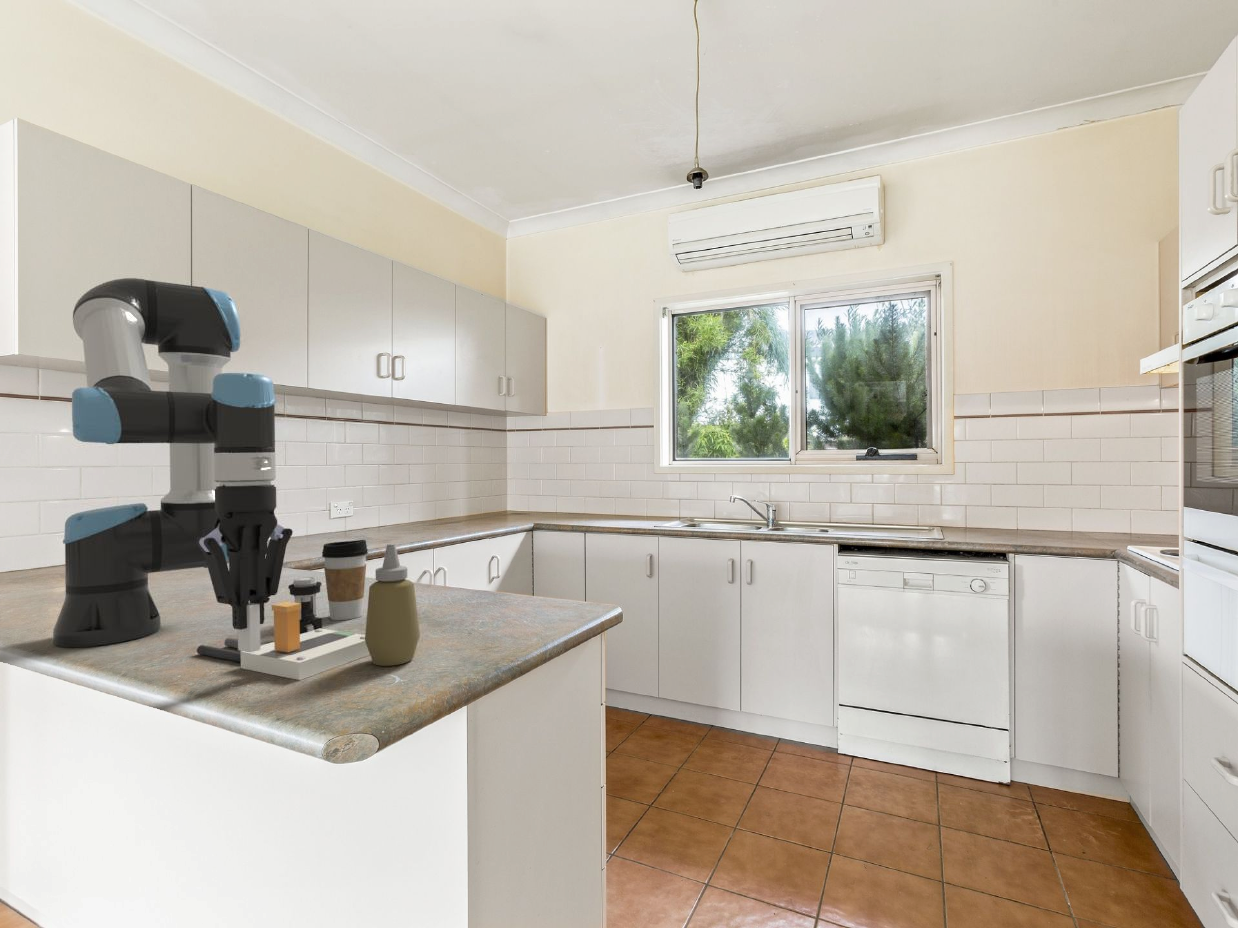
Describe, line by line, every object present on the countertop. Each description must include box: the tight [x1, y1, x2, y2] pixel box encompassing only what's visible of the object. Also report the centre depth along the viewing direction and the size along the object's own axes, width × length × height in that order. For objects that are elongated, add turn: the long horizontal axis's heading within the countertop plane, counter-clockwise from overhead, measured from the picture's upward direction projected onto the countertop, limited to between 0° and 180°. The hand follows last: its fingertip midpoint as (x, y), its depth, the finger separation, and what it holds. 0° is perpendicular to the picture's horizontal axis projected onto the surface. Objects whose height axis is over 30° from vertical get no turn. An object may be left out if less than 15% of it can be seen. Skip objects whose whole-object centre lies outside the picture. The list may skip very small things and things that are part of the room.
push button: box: [287, 576, 323, 634], centre depth 113 cm, size 7×5×10 cm
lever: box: [271, 601, 301, 652], centre depth 96 cm, size 3×2×7 cm
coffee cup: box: [321, 539, 369, 621], centre depth 127 cm, size 8×8×15 cm
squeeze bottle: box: [364, 543, 421, 667], centre depth 98 cm, size 8×8×18 cm
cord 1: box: [196, 644, 241, 663], centre depth 101 cm, size 13×1×1 cm, turn 64°
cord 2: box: [224, 637, 266, 649], centre depth 105 cm, size 13×1×1 cm, turn 64°
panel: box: [240, 628, 370, 681], centre depth 99 cm, size 13×14×3 cm
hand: (249, 649), depth 90 cm, fingers closed
